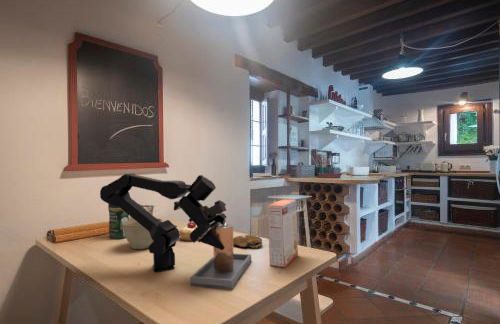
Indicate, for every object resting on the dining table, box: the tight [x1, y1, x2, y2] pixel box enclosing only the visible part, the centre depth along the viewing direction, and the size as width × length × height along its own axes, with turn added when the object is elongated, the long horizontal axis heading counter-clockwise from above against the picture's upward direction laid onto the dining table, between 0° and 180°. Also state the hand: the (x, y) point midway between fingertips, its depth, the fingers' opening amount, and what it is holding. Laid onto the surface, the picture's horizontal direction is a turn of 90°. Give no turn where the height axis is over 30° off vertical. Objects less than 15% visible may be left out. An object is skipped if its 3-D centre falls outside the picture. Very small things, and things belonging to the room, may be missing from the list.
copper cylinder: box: [212, 222, 234, 271], centre depth 90 cm, size 6×6×14 cm
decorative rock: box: [233, 234, 263, 250], centre depth 119 cm, size 11×4×15 cm
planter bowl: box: [122, 217, 163, 250], centre depth 121 cm, size 16×16×11 cm
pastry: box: [179, 221, 201, 242], centre depth 132 cm, size 12×12×9 cm
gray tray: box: [190, 252, 252, 291], centre depth 90 cm, size 13×22×2 cm, turn 166°
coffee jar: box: [107, 203, 130, 240], centre depth 137 cm, size 10×8×19 cm
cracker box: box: [267, 198, 299, 268], centre depth 100 cm, size 14×6×21 cm, turn 152°
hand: (227, 245), depth 90 cm, fingers open, 7 cm apart
